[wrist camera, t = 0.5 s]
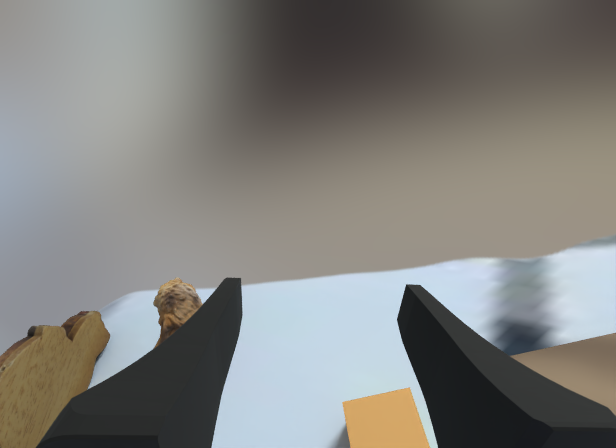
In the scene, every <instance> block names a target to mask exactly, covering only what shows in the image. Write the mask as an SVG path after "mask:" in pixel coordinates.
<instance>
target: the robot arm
mask: <svg viewBox="0 0 616 448" xmlns="http://www.w3.org/2000/svg"><path fill="white" fill-rule="evenodd" d="M241 320H242V293H241V278H226V279H224V280H223V282H222V283H221V284H220V285H219V287H218V288H217V289H216V290H215V291H214V293H213V294H212V295H211V296H210V297H209V298H208V299H207V300H206V302H205V303H204V304H203V305H202V306H201V307H200V308H199V309H198V310H197V311H196V312H195V313H194V314H193V315H192V316H191V317H190V318H189V319H188V320H187V321H186V322H185V323H184V324H183V325H182V326H181V327H180V328H179V329H177V330H176V331H175V332H174V333H173V334H172V335H171V336H169V337H168V338H167V339H166V340H165V341H163V342H162V343H161V344H159V345H158V346H157V347H155V348H154V349H153V350H151V351H150V352H149V353H147V354H146V355H144V356H143V357H142V358H140V359H139V360H137V361H136V362H134V363H133V364H131V365H130V366H128V367H127V368H125V369H123V370H122V371H120V372H118V373H117V374H115V375H113V376H112V377H110V378H108V379H107V380H105V381H103V382H101V383H99V384H97V385H96V386H94V387H92V388H90V389H88V390H86V391H84V392H83V393H81V394H79V395H77V396H75V397H73V398H71V400H70V401H69V402H68V403H67V405H66V406H65V407H64V408H63V410H62V411H61V412H60V413H59V415H58V416H57V418H56V419H55V421H54V422H53V423H52V425H51V426H50V428H49V429H48V431H47V432H46V433H45V435H44V436H43V438H42V439H41V441H40V442H39V444H38V445H37V446H36V448H211V446H212V441H213V435H214V430H215V425H216V420H217V415H218V410H219V405H220V400H221V395H222V392H223V388H224V384H225V381H226V377H227V374H228V371H229V367H230V364H231V361H232V357H233V354H234V351H235V347H236V344H237V340H238V337H239V332H240V326H241ZM397 322H398V326H399V330H400V334H401V338H402V342H403V344H404V347H405V349H406V352H407V355H408V357H409V360H410V362H411V365H412V367H413V370H414V372H415V375H416V377H417V380H418V382H419V385H420V387H421V390H422V393H423V396H424V398H425V401H426V405H427V408H428V412H429V415H430V419H431V422H432V426H433V429H434V433H435V437H436V441H437V444H438V448H616V416H615V414H614V413H613V412H612V411H611V410H610V409H609V408H608V407H606V406H604V405H602V404H600V403H597V402H595V401H593V400H591V399H589V398H586V397H584V396H582V395H580V394H578V393H576V392H573V391H571V390H569V389H567V388H565V387H563V386H561V385H560V384H558V383H556V382H554V381H552V380H550V379H548V378H546V377H544V376H542V375H541V374H539V373H537V372H535V371H533V370H532V369H530V368H528V367H527V366H525V365H523V364H522V363H520V362H518V361H517V360H515V359H513V358H512V357H510V356H509V355H507V354H506V353H504V352H503V351H501V350H500V349H498V348H497V347H495V346H494V345H492V344H491V343H489V342H488V341H487V340H485V339H484V338H482V337H481V336H480V335H478V334H477V333H476V332H475V331H473V330H472V329H471V328H469V327H468V326H467V325H466V324H464V323H463V322H462V321H461V320H460V319H458V318H457V317H456V316H455V315H454V314H453V313H451V312H450V311H449V310H448V309H447V308H446V307H445V306H443V305H442V304H441V303H440V302H439V301H438V300H437V299H436V298H434V297H433V296H432V295H431V294H430V293H429V292H428V291H427V290H425V289H424V288H423V287H422V286H421V285H407V284H406V287H405V291H404V295H403V299H402V303H401V306H400V310H399V314H398V318H397Z"/></svg>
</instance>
